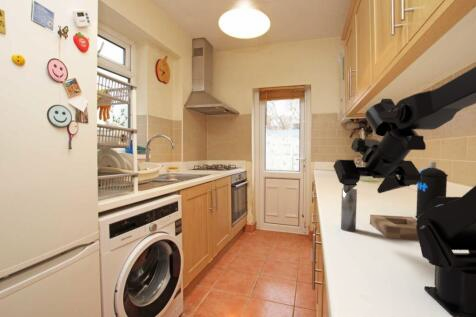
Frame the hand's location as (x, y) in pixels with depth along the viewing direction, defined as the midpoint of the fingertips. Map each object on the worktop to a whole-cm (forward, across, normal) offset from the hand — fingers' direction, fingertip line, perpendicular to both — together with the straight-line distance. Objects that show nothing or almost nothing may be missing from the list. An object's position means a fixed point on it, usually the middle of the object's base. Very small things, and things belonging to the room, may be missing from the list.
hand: (361, 191), depth 61 cm
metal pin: (+13, 0, +4) cm, 14 cm away
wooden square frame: (+12, -14, +6) cm, 20 cm away
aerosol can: (+21, -34, -3) cm, 40 cm away
